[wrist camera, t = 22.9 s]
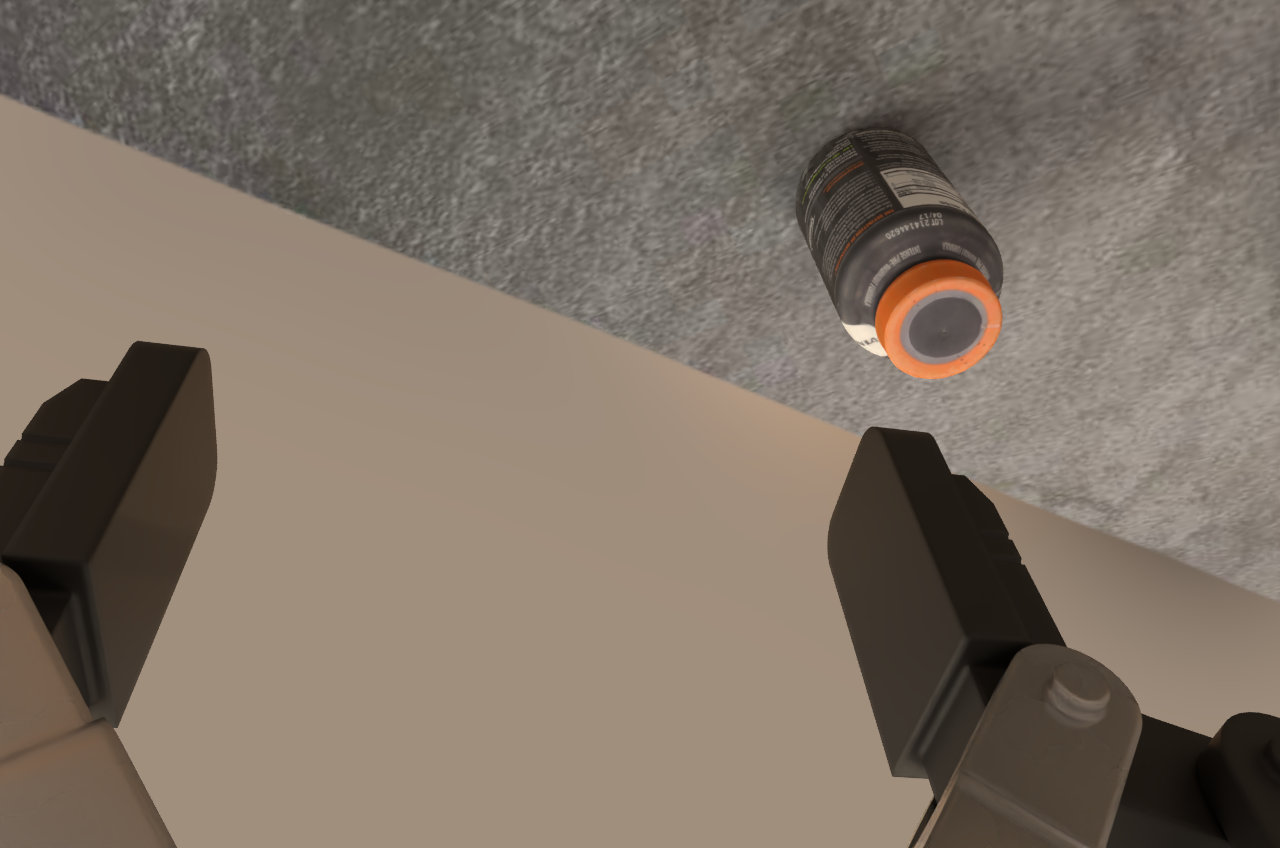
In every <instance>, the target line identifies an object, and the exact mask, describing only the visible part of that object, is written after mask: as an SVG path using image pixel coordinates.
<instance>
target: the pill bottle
mask: <svg viewBox="0 0 1280 848" xmlns="http://www.w3.org/2000/svg"><path fill="white" fill-rule="evenodd" d="M796 216H797V220H798V223H799V227H800V230H801V232H802V233H803V236H804V238H805V240H806V243H807V245H808V247H809V249H810V251H811V254H812V257H813V259H814V261H815V262H816V266H817V268H818V269H819V272H820V274H821V276H822V279H823V281H824V283H825V285H826V288H827V290H828V292H829V294H830V297H831V300H832V302H833V304H834V306H835V308H836V310H837V313H838V315H839V317H840V319H841V321H842V323H843V325H844V327H845V328H846V330H847V332H848V333H849V334H850V335H851V337H852V338H853V339H854V340H855V341H856V342H857V343H858V344H860V345H861V346H862V347H864V348H865V349H866V350H868V351H870V352H872V353H874V354H876V355H879V356H882V357H885V358H888V359H890V360H891V361H892V362H893V363H894V365H895V366H896V367H897V368H899V369H900V370H902V371H903V372H905V373H907V374H909V375H912V376H914V377H918V378H926V379H937V378H944V377H948V376H952V375H955V374H958V373H960V372H963V371H965V370H967V369H968V368H970V367H971V366H973V365H975V364H976V363H977V362H978V361H980V360H981V359H982V358H983V357H984V356H985V355H986V354H987V353H988V352H989V350H990V349H991V348H992V346H993V345H994V343H995V342H996V340H997V337H998V335H999V333H1000V330H1001V326H1002V311H1001V305H1000V302H999V300H998V299H999V297H1000V294H1001V289H1002V283H1003V263H1002V259H1001V255H1000V252H999V250H998V247H997V245H996V243H995V242H994V240H993V238H992V237H991V235H990V234H989V233H988V231H987V230H986V228H985V227H984V226H983V225H982V223H981V222H980V221H979V219H978V218H977V217H976V215H975V214H974V213H973V211H972V210H971V209H970V207H969V206H968V205H967V204H966V202H965V201H964V200H963V198H962V197H961V196H960V194H959V193H958V192H957V190H956V189H955V188H954V186H953V185H952V184H951V182H950V181H949V180H948V179H947V177H946V176H945V175H944V173H943V172H942V171H941V170H940V168H939V167H938V166H937V164H936V163H935V162H934V160H933V159H932V158H931V156H930V155H929V154H928V153H927V151H926V150H925V149H924V147H923V146H922V145H921V144H919V143H918V142H917V141H916V140H914V139H913V138H911V137H910V136H908V135H906V134H904V133H902V132H900V131H896V130H893V129H887V128H866V129H860V130H856V131H853V132H850V133H847V134H844V135H842V136H841V137H839V138H838V139H836V140H833V141H832V142H830V143H829V144H828V145H826V146H825V147H824V148H823V149H822V150H821V151H819V152H818V153H817V154H816V156H815V157H814V158H813V159H812V160H811V161H810V163H809V164H808V166H807V167H806V169H805V170H804V172H803V174H802V176H801V179H800V183H799V186H798V189H797V193H796Z"/></svg>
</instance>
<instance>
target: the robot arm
mask: <svg viewBox="0 0 1280 848" xmlns="http://www.w3.org/2000/svg"><path fill="white" fill-rule="evenodd" d="M214 415H215V414H214V400H213V386H212V373H211V362H210V357H209V354H208V352H207V350H206V349H204V348H195V347H187V346H178V345H169V344H160V343H151V342H143V341H137V342H135V343H133V344H132V346H131V347H130V348H129V350H128V352H127V353H126V355H125V357H124V358H123V360H122V361H121V363H120V365H119V366H118V368H117V369H116V371H115V372H114V374H113V376H112V377H111V379H110V380H109V381H100V380H90V379H80V380H78V381H77V382H75V383H74V384H72V385H71V386H69V387H68V388H66V389H64V390H63V391H61V392H60V393H58V394H57V395H55V396H54V397H52V398H51V399H49V400H47V401H46V402H44V403H43V404H42V406H41V407H40V408H39V410H38V411H37V413H36V414H35V416H34V417H33V419H32V420H31V421H30V423H29V424H28V426H27V427H26V429H25V430H24V431H23V433H22V439H21V440H17V442H16V443H15V444H14V446H13V447H12V449H11V450H10V452H9V453H8V455H7V456H6V458H5V459H4V465H3V466H0V848H177V847H176V845H175V843H174V841H173V839H172V837H171V835H170V834H169V832H168V830H167V828H166V826H165V824H164V822H163V820H162V818H161V817H160V815H159V813H158V811H157V809H156V807H155V805H154V803H153V801H152V800H151V798H150V796H149V794H148V792H147V790H146V788H145V786H144V784H143V782H142V780H141V779H140V777H139V775H138V773H137V771H136V769H135V767H134V765H133V764H132V761H131V760H130V758H129V756H128V754H127V752H126V750H125V748H124V746H123V744H122V743H121V741H120V739H119V737H118V735H117V733H116V732H115V730H114V728H118V725H119V723H120V721H121V718H122V716H123V713H124V711H125V709H126V706H127V703H128V701H129V699H130V696H131V694H132V692H133V689H134V687H135V684H136V682H137V679H138V677H139V675H140V672H141V670H142V667H143V665H144V663H145V660H146V658H147V655H148V653H149V650H150V648H151V645H152V643H153V641H154V638H155V636H156V633H157V631H158V629H159V626H160V624H161V621H162V619H163V617H164V614H165V612H166V609H167V607H168V604H169V602H170V600H171V597H172V595H173V592H174V590H175V587H176V585H177V583H178V580H179V578H180V575H181V573H182V571H183V568H184V566H185V563H186V561H187V558H188V556H189V554H190V551H191V549H192V546H193V544H194V541H195V539H196V537H197V534H198V532H199V529H200V527H201V525H202V522H203V520H204V517H205V515H206V513H207V510H208V507H209V505H210V502H211V499H212V495H213V491H214V486H215V479H216V471H217V444H216V429H215V416H214ZM1008 536H1009V533H1008V531H1007V529H1006V527H1005V525H1004V523H1003V521H1002V519H1001V517H1000V516H999V513H998V511H997V509H996V508H995V506H994V504H993V503H992V502H991V501H990V500H989V499H988V498H987V497H986V496H985V495H984V494H983V493H982V492H981V491H980V490H979V489H978V488H977V487H976V486H975V485H974V484H973V483H972V482H971V481H970V480H969V479H968V478H967V477H966V476H964V475H955V474H951V472H950V470H949V468H948V466H947V464H946V462H945V459H944V457H943V455H942V453H941V451H940V449H939V447H938V445H937V443H936V441H935V439H934V437H933V436H932V435H931V434H929V433H926V432H917V431H908V430H900V429H891V428H882V427H870V428H869V429H868V430H867V431H866V432H865V433H864V435H863V437H862V439H861V441H860V444H859V446H858V449H857V452H856V454H855V457H854V459H853V462H852V465H851V467H850V470H849V473H848V475H847V478H846V480H845V483H844V486H843V488H842V491H841V493H840V496H839V499H838V501H837V504H836V507H835V509H834V512H833V515H832V518H831V521H830V526H829V532H828V559H829V564H830V568H831V572H832V575H833V578H834V582H835V585H836V588H837V592H838V595H839V599H840V602H841V605H842V609H843V612H844V615H845V619H846V622H847V626H848V628H849V632H850V636H851V639H852V642H853V645H854V649H855V652H856V656H857V659H858V663H859V666H860V669H861V672H862V676H863V679H864V683H865V686H866V689H867V693H868V696H869V700H870V703H871V706H872V709H873V713H874V716H875V720H876V723H877V726H878V730H879V733H880V736H881V740H882V743H883V746H884V750H885V753H886V757H887V760H888V763H889V767H890V770H891V774H892V776H893V777H908V778H925V779H929V781H930V785H931V787H932V791H933V793H934V796H933V798H932V800H931V801H930V803H929V805H928V807H927V808H926V810H925V812H924V814H923V816H922V818H921V820H920V822H919V824H918V826H917V828H916V830H915V831H914V833H913V836H912V838H911V839H910V842H909V843H908V845H907V847H906V848H1280V718H1278V717H1275V716H1271V715H1268V714H1263V713H1255V712H1254V713H1253V712H1246V713H1239V714H1237V715H1234V716H1232V717H1231V718H1229V719H1228V720H1227V721H1226V722H1225V723H1224V725H1223V726H1222V727H1221V728H1220V730H1219V731H1218V732H1217V733H1216V735H1215V736H1214V737H1213V738H1211V737H1208V736H1205V735H1202V734H1199V733H1196V732H1193V731H1190V730H1187V729H1184V728H1181V727H1178V726H1175V725H1172V724H1169V723H1166V722H1163V721H1161V720H1158V719H1155V718H1152V717H1149V716H1146V715H1144V714H1141V712H1140V708H1139V706H1138V703H1137V701H1136V700H1135V698H1134V696H1133V695H1132V693H1131V692H1130V690H1129V689H1128V687H1127V686H1126V685H1125V684H1124V683H1123V682H1122V681H1121V680H1120V678H1118V677H1117V676H1116V675H1115V674H1114V673H1113V672H1112V671H1111V670H1109V669H1108V668H1107V667H1105V666H1104V665H1103V664H1101V663H1100V662H1098V661H1096V660H1095V659H1093V658H1091V657H1090V656H1087V655H1085V654H1083V653H1081V652H1079V651H1076V650H1073V649H1071V648H1068V647H1067V646H1066V644H1065V642H1064V640H1063V638H1062V637H1061V634H1060V632H1059V631H1058V628H1057V627H1056V625H1055V623H1054V621H1053V619H1052V617H1051V615H1050V613H1049V611H1048V609H1047V607H1046V605H1045V603H1044V601H1043V599H1042V597H1041V595H1040V593H1039V592H1038V590H1037V588H1036V586H1035V584H1034V582H1033V580H1032V578H1031V576H1030V574H1029V572H1028V570H1027V568H1026V566H1025V565H1022V564H1021V556H1020V555H1019V552H1018V550H1017V549H1016V547H1015V545H1014V543H1013V541H1012V540H1009V539H1008Z"/></svg>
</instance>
